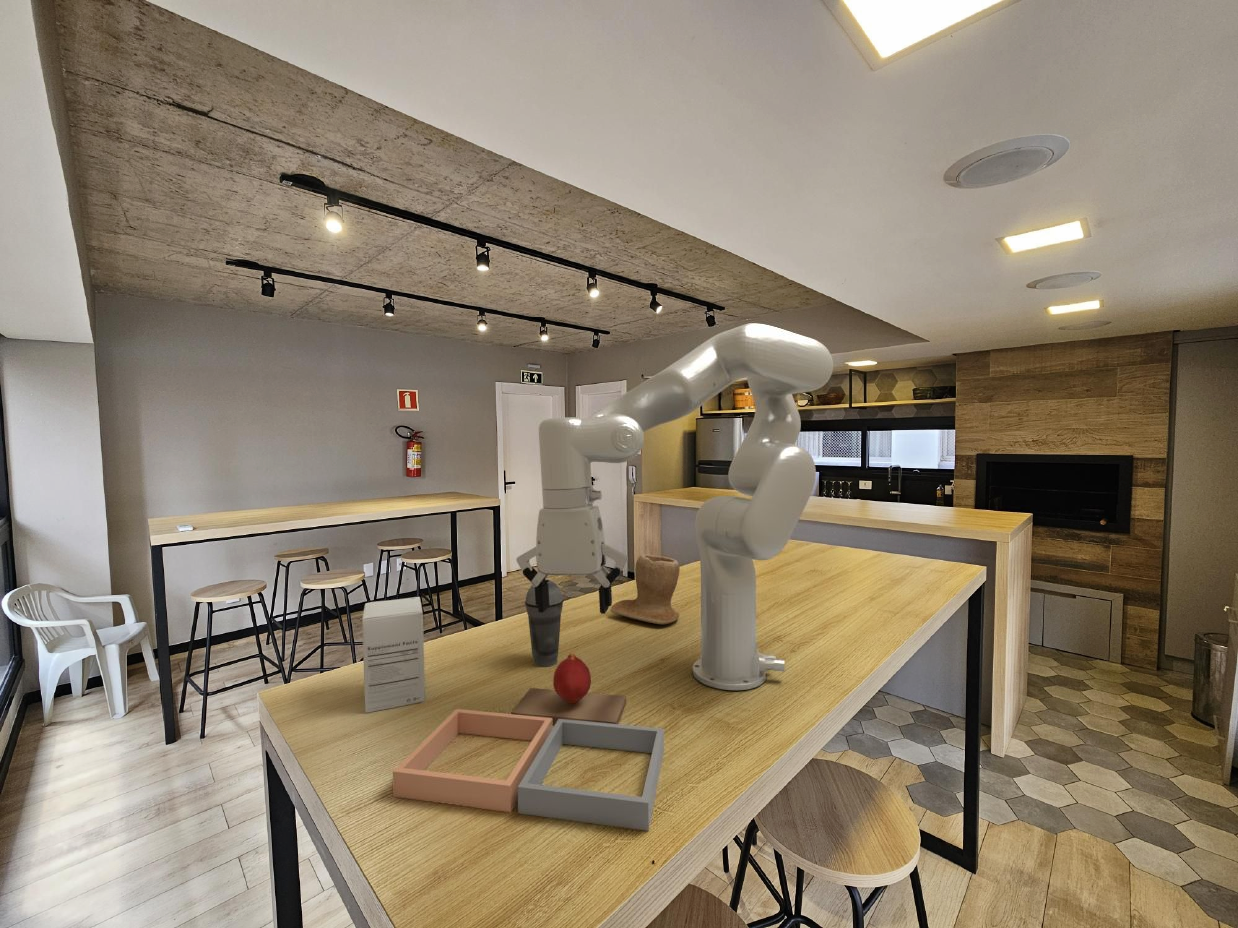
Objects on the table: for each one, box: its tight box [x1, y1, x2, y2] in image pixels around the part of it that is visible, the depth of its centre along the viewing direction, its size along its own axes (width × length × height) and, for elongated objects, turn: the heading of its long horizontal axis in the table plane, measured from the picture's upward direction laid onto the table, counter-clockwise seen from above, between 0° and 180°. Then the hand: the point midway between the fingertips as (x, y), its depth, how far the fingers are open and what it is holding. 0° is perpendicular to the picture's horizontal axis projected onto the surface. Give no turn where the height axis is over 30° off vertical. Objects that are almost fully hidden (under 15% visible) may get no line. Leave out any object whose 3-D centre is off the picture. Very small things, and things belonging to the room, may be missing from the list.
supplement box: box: [361, 596, 426, 714], centre depth 85 cm, size 9×9×15 cm
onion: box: [552, 652, 592, 705], centre depth 79 cm, size 6×6×8 cm
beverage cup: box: [524, 570, 565, 668], centre depth 98 cm, size 7×7×20 cm
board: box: [510, 687, 627, 726], centre depth 79 cm, size 16×8×1 cm, turn 79°
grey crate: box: [517, 719, 665, 832], centre depth 63 cm, size 15×15×3 cm
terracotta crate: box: [392, 708, 554, 813], centre depth 66 cm, size 15×15×3 cm
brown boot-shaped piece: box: [609, 554, 681, 625], centre depth 122 cm, size 15×12×15 cm
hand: (574, 610), depth 79 cm, fingers open, 9 cm apart
